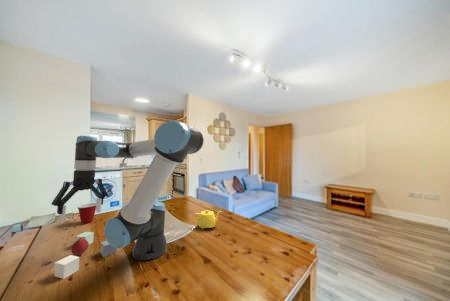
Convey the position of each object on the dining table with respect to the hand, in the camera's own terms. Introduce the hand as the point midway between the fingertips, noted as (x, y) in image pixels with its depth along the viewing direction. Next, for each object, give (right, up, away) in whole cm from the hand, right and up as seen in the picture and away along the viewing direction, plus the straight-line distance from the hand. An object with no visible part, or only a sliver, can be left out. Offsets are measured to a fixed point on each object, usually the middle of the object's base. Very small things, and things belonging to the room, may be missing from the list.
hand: (81, 216), depth 75 cm
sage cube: (-6, -18, +8) cm, 20 cm away
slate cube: (+11, -18, +2) cm, 21 cm away
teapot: (+54, -21, +34) cm, 67 cm away
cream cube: (+5, -17, -12) cm, 21 cm away
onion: (0, -18, -1) cm, 18 cm away
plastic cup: (-27, -18, +35) cm, 47 cm away
